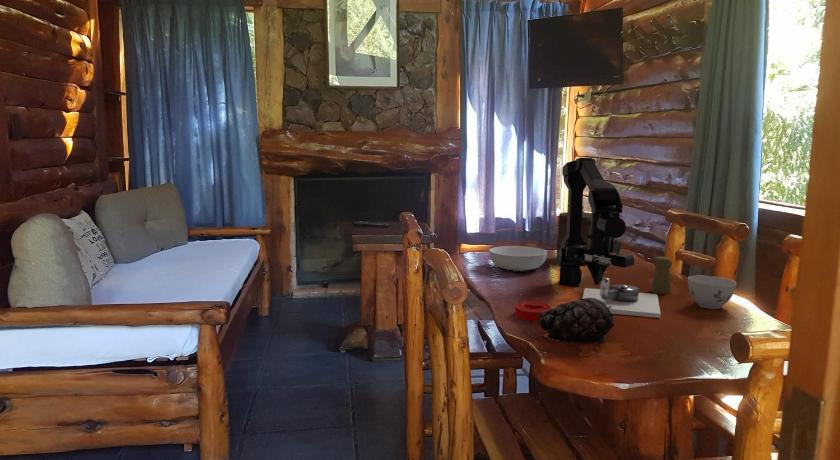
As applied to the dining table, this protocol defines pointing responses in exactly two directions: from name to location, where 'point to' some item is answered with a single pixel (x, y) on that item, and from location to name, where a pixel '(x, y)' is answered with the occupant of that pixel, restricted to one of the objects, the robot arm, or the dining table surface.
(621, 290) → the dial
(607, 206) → the robot arm
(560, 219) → the wooden container
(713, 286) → the teacup
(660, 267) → the cork
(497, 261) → the serving bowl
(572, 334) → the pine cone
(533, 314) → the decorative ornament
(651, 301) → the stand board
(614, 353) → the dining table surface
